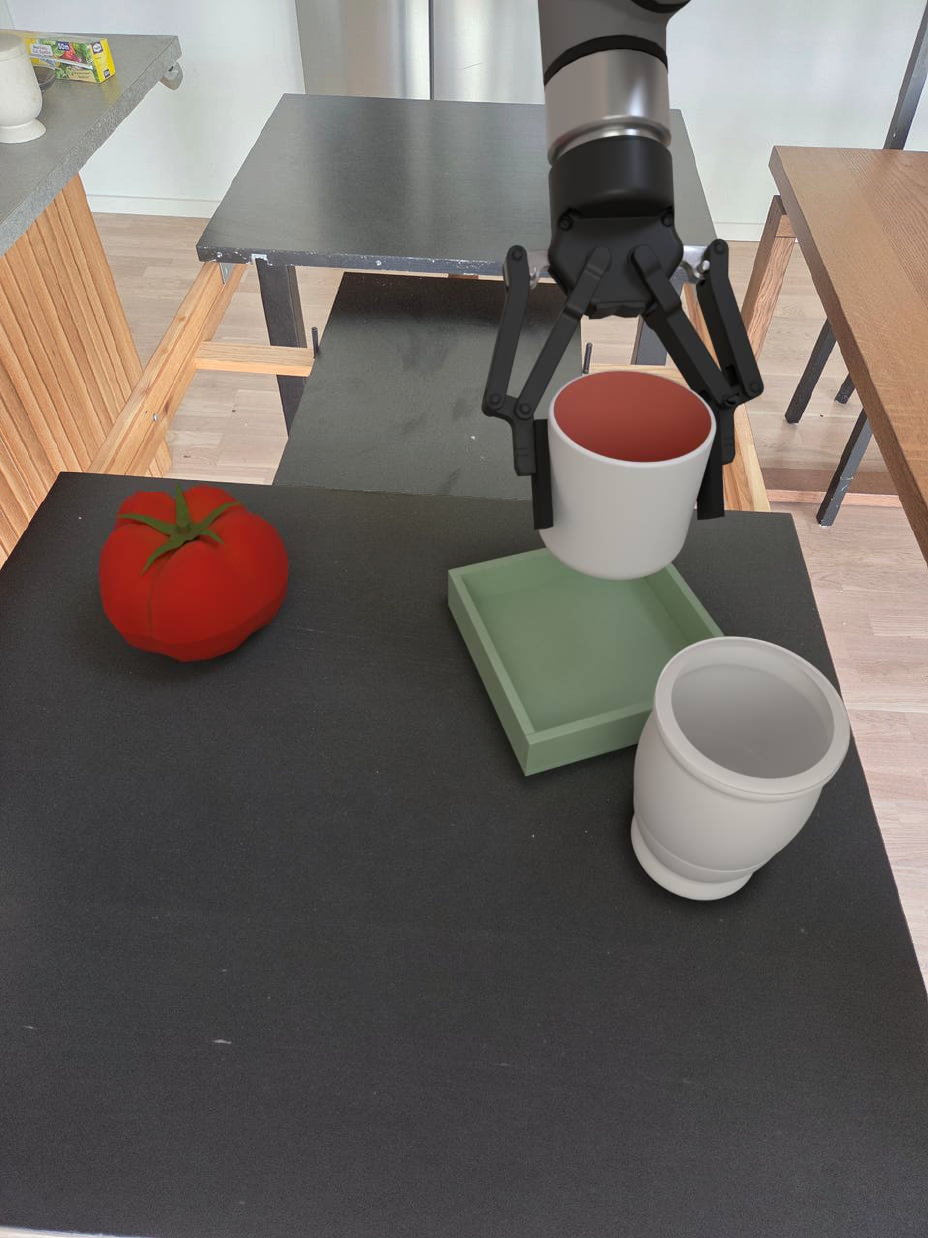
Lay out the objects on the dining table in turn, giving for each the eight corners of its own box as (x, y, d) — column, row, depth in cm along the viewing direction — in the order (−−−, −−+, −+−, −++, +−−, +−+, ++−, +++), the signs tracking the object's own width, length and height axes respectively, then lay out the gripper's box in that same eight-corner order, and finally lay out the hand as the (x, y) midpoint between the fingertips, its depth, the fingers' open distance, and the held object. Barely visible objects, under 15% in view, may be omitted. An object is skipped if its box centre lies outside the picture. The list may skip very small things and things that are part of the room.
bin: (741, 713, 64) (756, 679, 61) (525, 777, 60) (529, 744, 57) (636, 559, 75) (644, 524, 72) (448, 604, 71) (447, 569, 68)
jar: (642, 752, 61) (685, 611, 50) (786, 808, 58) (866, 672, 47) (592, 876, 55) (628, 746, 44) (751, 947, 52) (833, 827, 41)
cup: (512, 509, 60) (521, 385, 52) (637, 478, 62) (662, 356, 55) (575, 606, 54) (595, 481, 46) (710, 567, 56) (750, 443, 49)
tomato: (328, 612, 70) (311, 502, 61) (191, 719, 63) (149, 612, 54) (224, 542, 76) (195, 432, 67) (87, 633, 68) (33, 523, 59)
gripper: (760, 183, 56) (774, 517, 58) (423, 192, 55) (445, 536, 56) (816, 123, 49) (831, 508, 50) (427, 131, 47) (452, 530, 48)
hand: (627, 523), depth 53 cm, fingers closed on cup, 10 cm apart
